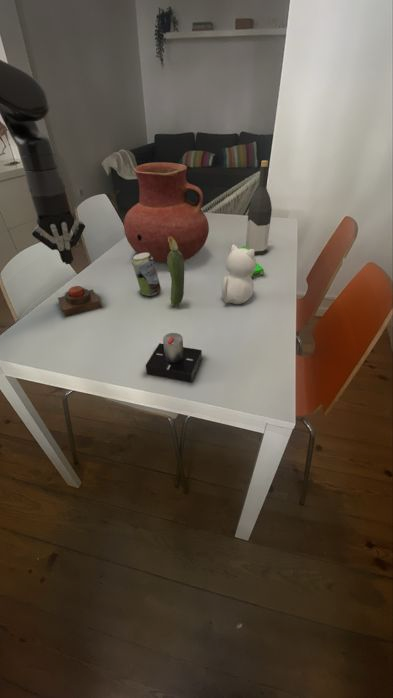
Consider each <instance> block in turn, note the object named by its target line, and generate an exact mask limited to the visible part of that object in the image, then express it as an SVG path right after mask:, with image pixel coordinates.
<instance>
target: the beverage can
mask: <svg viewBox="0 0 393 698" xmlns="http://www.w3.org/2000/svg"><path fill="white" fill-rule="evenodd" d="M131 263H132V267H133V270H134V273H135V277H136V279H137V284H138V286H139V289H140V293H141V295H145V296H149V297H151V296H154V295H156V294H158V293H159V292H160V291H161V289H162V287H161V283H160V280H159V276H158V275H159V274H158V272H157V269H156V265H155V261H154V260H153V257H152V256H151V255H150V253H140V254H138V253H137V254H135V255H133V256H132V261H131Z"/></svg>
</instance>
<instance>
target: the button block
mask: <svg viewBox="0 0 393 698" xmlns="http://www.w3.org/2000/svg"><path fill="white" fill-rule="evenodd" d="M82 288H83V292H84V294H83V295H82V296H79V297H71V296H70V292H69V290H68V291H66V292H65V294H64V296H58V297H57V300H58V303H59V306H60V308H61V310H62V314H63V315H64V318H67V317H70V316H74V315H78V314H82V313H85V312H86V313H87V312H90V311H92V310H97V309H101V308H102V304H101V301H100V299H99V297H98V295H97V294H96V293H95V291H94V289H87V288H84V287H82Z"/></svg>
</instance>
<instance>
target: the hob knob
mask: <svg viewBox="0 0 393 698" xmlns="http://www.w3.org/2000/svg"><path fill="white" fill-rule="evenodd" d="M162 344H164V353H165V360H166V361H167V362H169V363H178V362H180V361H182V360H183V358H184V354H183V347H184V339H183V336H182V335H181V334H180V333H177V332H169V333H166V334H165V335H164V336H163V338H162Z"/></svg>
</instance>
